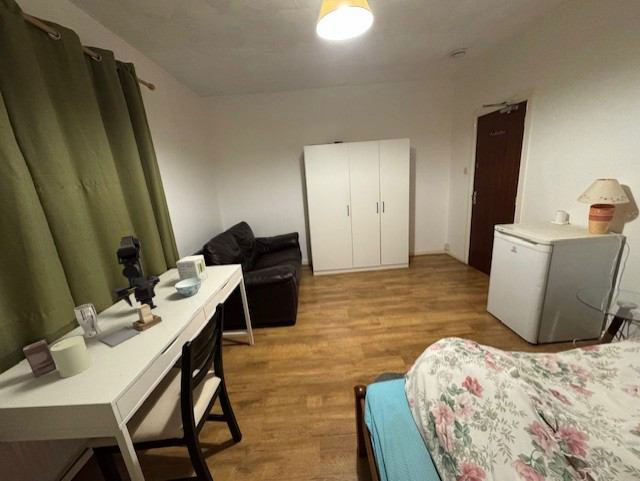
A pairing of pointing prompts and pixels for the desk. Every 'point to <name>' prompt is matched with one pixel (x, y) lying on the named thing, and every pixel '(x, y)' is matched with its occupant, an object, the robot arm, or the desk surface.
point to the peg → (144, 313)
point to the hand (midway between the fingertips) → (141, 302)
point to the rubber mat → (119, 336)
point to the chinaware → (188, 286)
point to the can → (71, 356)
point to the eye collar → (147, 325)
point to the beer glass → (87, 320)
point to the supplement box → (192, 268)
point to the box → (39, 358)
